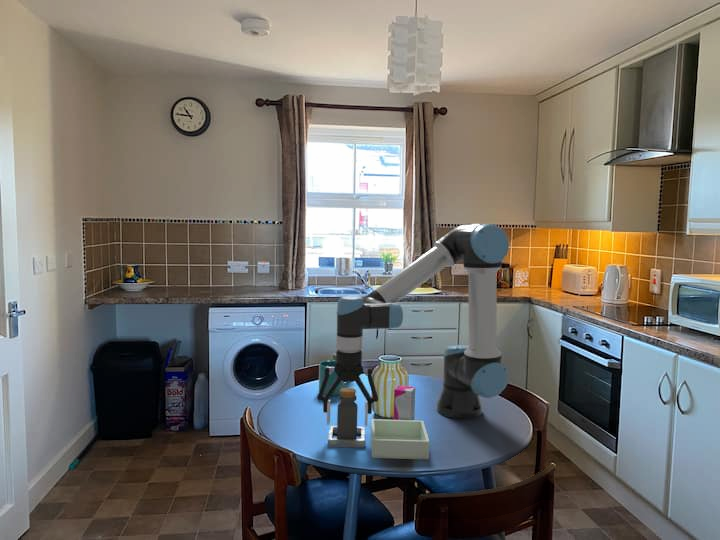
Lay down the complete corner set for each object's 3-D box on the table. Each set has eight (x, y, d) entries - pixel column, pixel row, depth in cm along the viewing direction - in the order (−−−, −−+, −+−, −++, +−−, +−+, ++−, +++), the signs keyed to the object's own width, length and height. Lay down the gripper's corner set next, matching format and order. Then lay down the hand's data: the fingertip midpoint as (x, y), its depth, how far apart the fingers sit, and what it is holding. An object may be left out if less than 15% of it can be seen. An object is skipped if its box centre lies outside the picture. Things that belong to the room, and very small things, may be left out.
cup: (348, 398, 194) (349, 368, 193) (316, 396, 196) (317, 366, 195) (351, 390, 203) (352, 361, 202) (321, 388, 204) (321, 360, 204)
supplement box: (414, 420, 173) (415, 386, 172) (410, 427, 168) (411, 391, 167) (397, 418, 175) (398, 384, 174) (392, 424, 169) (393, 389, 169)
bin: (422, 436, 160) (423, 420, 160) (428, 459, 145) (429, 441, 144) (370, 435, 160) (371, 419, 160) (371, 457, 145) (372, 440, 144)
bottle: (336, 435, 159) (337, 386, 158) (355, 435, 160) (357, 387, 158) (337, 443, 153) (338, 393, 152) (357, 443, 154) (358, 393, 153)
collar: (364, 433, 162) (364, 426, 162) (364, 447, 151) (364, 440, 151) (330, 432, 162) (330, 425, 162) (327, 446, 151) (327, 439, 151)
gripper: (387, 347, 158) (385, 420, 160) (311, 345, 158) (309, 417, 160) (389, 353, 150) (386, 429, 152) (308, 351, 151) (306, 427, 152)
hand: (347, 423), depth 156 cm, fingers open, 10 cm apart
